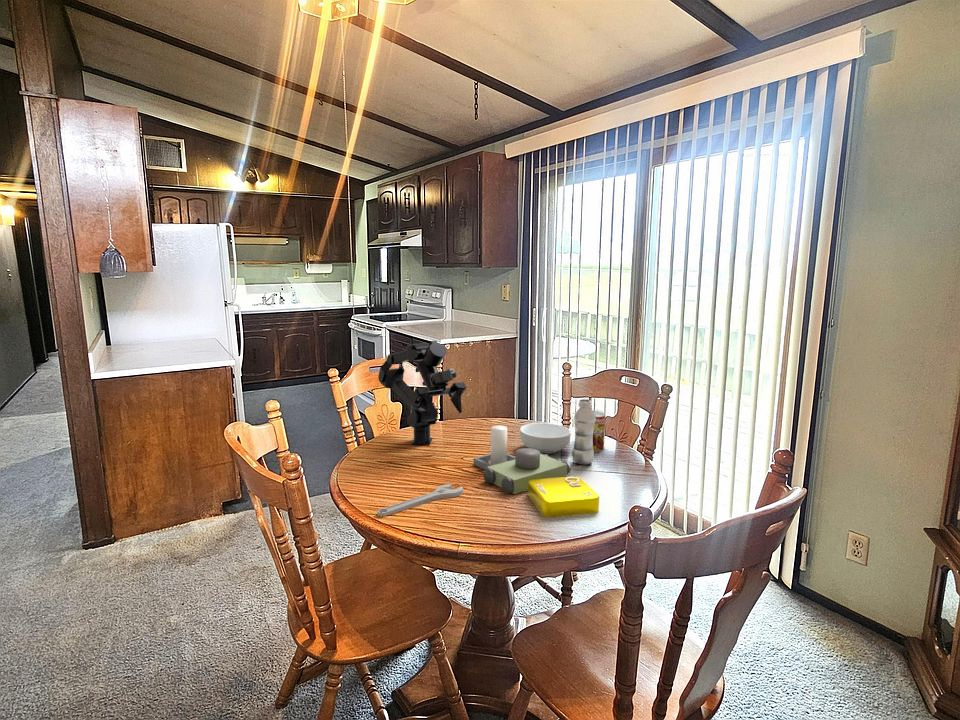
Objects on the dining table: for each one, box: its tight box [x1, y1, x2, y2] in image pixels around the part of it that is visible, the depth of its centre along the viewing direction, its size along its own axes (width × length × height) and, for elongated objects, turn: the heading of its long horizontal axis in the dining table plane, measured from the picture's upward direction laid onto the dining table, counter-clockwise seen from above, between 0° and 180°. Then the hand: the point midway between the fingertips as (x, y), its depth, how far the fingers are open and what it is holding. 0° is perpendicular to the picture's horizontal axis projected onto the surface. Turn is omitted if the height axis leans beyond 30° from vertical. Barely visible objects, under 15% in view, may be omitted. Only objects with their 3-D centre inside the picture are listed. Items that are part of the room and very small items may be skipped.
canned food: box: [592, 410, 606, 453], centre depth 182 cm, size 8×8×12 cm
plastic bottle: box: [571, 398, 596, 466], centre depth 167 cm, size 6×7×20 cm
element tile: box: [527, 475, 600, 518], centre depth 140 cm, size 15×15×5 cm
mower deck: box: [473, 447, 571, 495], centre depth 160 cm, size 24×22×8 cm
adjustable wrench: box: [377, 483, 464, 517], centre depth 141 cm, size 25×6×2 cm, turn 126°
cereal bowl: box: [519, 422, 571, 454], centre depth 181 cm, size 17×17×7 cm
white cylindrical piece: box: [487, 425, 508, 465], centre depth 165 cm, size 6×6×12 cm
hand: (449, 414), depth 173 cm, fingers open, 9 cm apart
